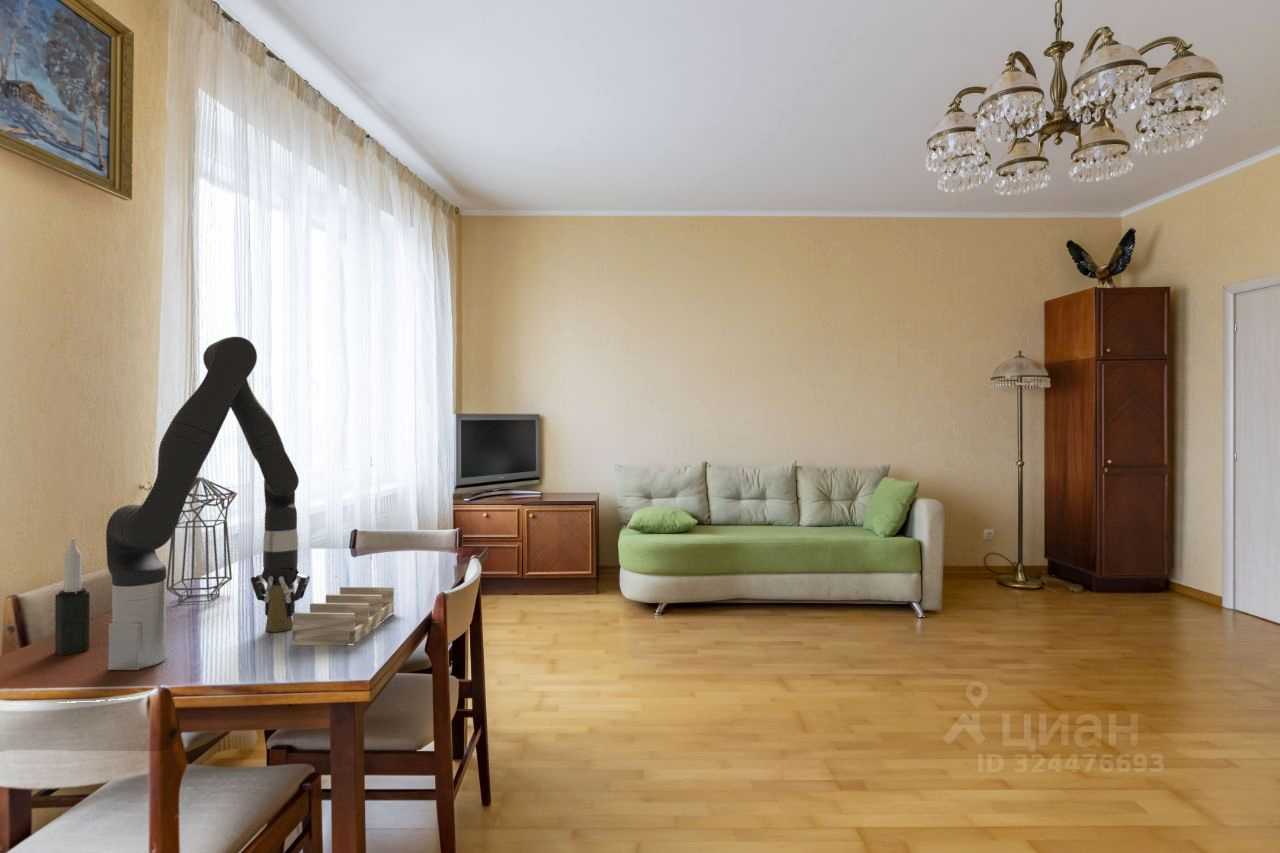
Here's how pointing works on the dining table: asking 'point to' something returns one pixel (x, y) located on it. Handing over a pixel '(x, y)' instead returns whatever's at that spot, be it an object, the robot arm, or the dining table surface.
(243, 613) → the dining table surface
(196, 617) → the dining table surface
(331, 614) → the slot rack
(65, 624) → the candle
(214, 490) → the geometric lantern
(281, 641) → the dining table surface
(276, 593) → the cork
